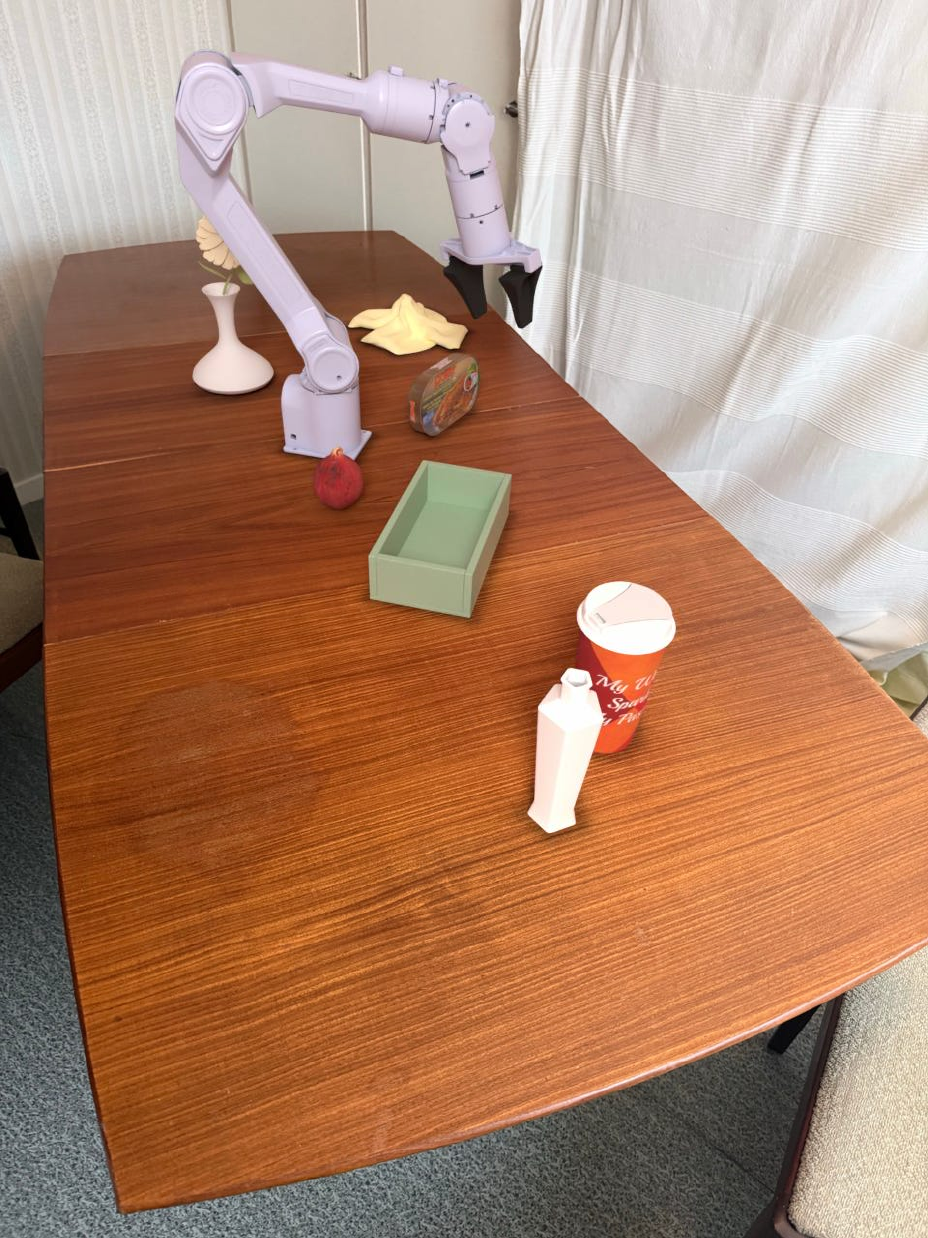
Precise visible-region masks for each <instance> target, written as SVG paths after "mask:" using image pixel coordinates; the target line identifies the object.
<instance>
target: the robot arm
mask: <svg viewBox="0 0 928 1238" xmlns="http://www.w3.org/2000/svg"><path fill="white" fill-rule="evenodd" d="M228 54H229V56H227V54H224V53H223V52H221V51H219V50H216V49H214V48H213V49H212V48H201V49H198V50H195V51H193V52H192V53H190V54H189V55H188V56H187V57H186V58H185V60H184V61H183V63H182V65H181V67H180V71H179V75H178V78H177V79H178V80H177V84H176V89H175V93H174V111H173V112H174V113H173V118H174V127H175V136H176V137H175V138H176V147H177V149H176V150H177V160H178V171H179V178H180V182H181V183H182V186H183V187H184V189H185V190H186V191H187V193H188V194H189V196H190V197H191V198H192V200H193V202H194V203H195V204H196V206H197V207H198V208H199V210H200V211H201V212H202V215H203V214H204V215H205V216H206V218H207V219H208V221H209V222H210V223H211V225H212V226H213V227H214V229H215V230H216V232H217V233H218V234H219V236H220V237H221V239H222V240H223V241H224V243H225V244H226V246H227V247H228V248H229V250H230V251H231V252H232V254H233V255H234V257H235V258H236V259H237V261H238V262H239V264H240V265H239V266H242V268H243V269H244V270H245V272H246V273H247V275H248V276H249V277H250V279H251V280H252V282H253V283H254V284H253V285H254V286H255V287H256V289H257V290H258V291H259V293H260V294H261V295H262V297H263V298H264V300H265V301H266V303H267V304H268V306H269V307H270V308H271V310H272V311H273V312H274V314H275V315H276V316H277V318H278V320H279V321H280V322H281V323H282V325H283V326H284V328H285V330H286V332H287V333H288V336H289V338H290V339H291V342H292V344H293V345H294V347H295V349H296V351H297V352H298V353H299V355H300V356H301V358H302V360H303V362H304V367H303V368H302V371H301V372H300V373H292V374H289V375H288V376H287V377H286V379H285V381H284V383H283V386H282V391H281V398H280V405H281V416H282V424H283V433H284V442H285V445H284V446H283V447H282V448H283V451H284V452H285V453H290V454H296V455H301V456H302V455H303V456H308V457H313V458H314V457H315V458H320V459H321V458H322V459H323V458H325V457H326V456H328V455H330V454H331V452H332V450H333V448H335V447H337V446H339V447H341V448H342V449H343V454H344V455H347V456H349V457H350V458H352V459H353V460H354V461H356V459H357V457H358V456H359V454H360V453H361V452H362V450H363V448H364V447H365V446H366V444H367V443H368V442H369V440H370V438H371V437H372V435H373V433H372V431H371V430H365V429H362V423H361V422H362V421H361V401H360V400H361V399H360V398H361V397H360V376H359V372H360V361H359V358H358V355H357V354H356V353H355V351H354V349H353V346H352V344H351V341H350V335H349V332H348V329H347V327H346V325H345V323H343V322H342V320H341V319H339V318H338V317H336V316H334V315H332V314H330V313H329V312H328V311H327V310H326V309H325V308H324V306H323V305H322V303H321V302H320V300H319V299H317V298H316V297H315V296H314V295H313V294H312V292H311V291H310V289H309V287H308V286H307V285H306V283H305V281H304V280H303V279H302V277H301V276H300V274H299V273H298V272H297V270H296V269H295V267H294V265H293V264H292V262H291V261H290V259H289V257H287V255H286V253H285V252H284V251H283V249H282V248H281V246H280V245H279V243H278V241H277V240H276V238H275V237H274V236H273V234H272V233H271V231H270V230H269V229H268V227H267V225H266V224H265V222H264V221H263V219H262V218H261V216H260V215H259V214H258V212H257V210H256V208H255V207H254V206H253V204H252V203H251V202H250V200H249V199H248V197H247V196H246V194H245V193H244V192H243V190H242V188H241V187H240V185H239V184H238V183H237V181H236V179H235V178H234V176H233V175H232V174H231V172H230V170H231V166H232V159H233V153H234V146H235V144H236V142H237V140H238V139H239V136H240V135H241V133H242V131H243V129H244V127H245V126H246V124H247V121H248V118H249V114H250V108H251V107H253V110H254V113H255V115H256V118H257V119H261V118H263V117H265V116H266V115H268V114H270V113H272V112H273V111H275V110H276V109H278V108H279V107H281V106H291V107H297V108H302V109H303V108H304V109H310V110H316V111H322V112H329V113H336V114H341V115H347V116H354V117H359V118H360V119H361V121H362V122H363V124H364V125H365V127H366V129H367V130H368V131H369V133H371V134H373V135H379V136H384V137H388V138H393V139H399V140H403V141H408V142H413V143H418V144H423V145H431V144H432V145H433V144H435V143H440V144H441V145H440V147H439V148H440V151H441V156H442V159H443V163H444V176H445V179H446V183H447V188H448V193H449V197H450V201H451V205H452V210H453V215H454V219H455V222H456V226H457V231H458V236H459V237H448V238H446V239H445V240H443V241H442V242H441V243H439V244H438V246H439V251H440V255H441V260H443V261H449V262H448V265H446V266H445V267H443V269H442V273H443V276H444V277H445V278H446V279H447V280H448V281H449V282H450V283H451V284H452V285H453V288H455V290H457V292H458V294H459V295H460V296H461V298H462V301H463V302H464V304H465V306H466V307H467V310H468V311H469V313H470V315H471V317H472V319H473V320H479V319H480V318H481V317H483V316H485V314H487V313H488V301H487V296H486V295H487V294H486V289H485V283H484V282H485V281H484V265H495V266H503V267H509V270H508V271H507V272H505V273H503V274H502V275H501V276H500V277H498V279H497V280H498V283H499V284H500V285H501V287H502V289H503V290H504V292H505V294H506V296H507V298H508V301H509V303H510V306H511V310H512V314H513V318H514V322H515V324H516V327H517V328H518V329H520V330H523V329H525V328H526V327H528V326H529V325H530V324H531V323H533V319H534V304H535V295H536V290H537V286H538V283H539V280H540V276H541V273H542V271H543V268H544V265H543V262H542V256H541V253H540V252H541V251H540V248H536V247H532V246H529V245H527V244H525V243H523V242H521V241H518V240H517V239H515V233H514V232H513V231H510V230H509V224H508V219H507V213H506V208H505V203H504V197H503V191H502V186H501V181H500V177H499V170H498V166H497V161H496V158H495V155H494V150H493V144H492V139H493V136H494V134H495V129H496V117H495V115H493V114H492V112H491V109H490V106H489V105H488V103H487V102H486V100H484V98H482V96H480V95H479V94H478V93H476V92H475V91H473V90H472V89H471V88H469V87H467V86H465V85H463V84H459V83H458V82H457V81H455V80H451V81H449V80H448V79H447V78H445V77H442V76H436V80H435V81H434V80H431V79H426V78H420V77H416V76H412V75H407V74H404V70H405V69H404V68H403V67H402V66H400V65H396V64H391V63H390V64H388V69H387V70H386V69H381V68H377V69H375V70H374V71H373V72H371V73H370V74H369V75H368V76H366V77H365V78H364V79H359V78H358V79H357V78H354V77H350V76H347V75H341V74H339V73H334V72H330V71H327V70H322V69H320V68H319V69H318V68H315V67H311V66H307V65H304V64H300V63H297V62H292V61H288V60H285V59H280V58H276V57H273V56H268V55H262V54H255V53H248V52H240V51H228ZM204 215H203V216H204Z"/></svg>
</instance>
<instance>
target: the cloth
mask: <svg viewBox="0 0 928 1238" xmlns="http://www.w3.org/2000/svg"><path fill="white" fill-rule="evenodd" d="M347 328H351V329H353V328H364V329H369V330H372V331H370V332H369V333H368V334H366V335H364V336H363V337H362V338H361V340H360V342H363V343H366V344H368V345H372V346H375V347H377V348H380V349H383V350H386V351H388V352H390V353H393V354H394V355H397V356H403V355H408V354H414V353H419V352H424V351H426V350H430V349H431V348H434V347H435V346H436V345H437V346H441V347H443V348H446V349H448V350H454V349H457V350H459V349H460V347H461V345H462V343H463V341H464V339H465V337H466V335H467V333H468V332H469V330H468V328H467V327H466V326H465V325H463V324H457V323H452V322H449V321H447V318H446V317H445V316H443V315H442V314H440V313H439V312H436V311H435V310H432V309H429V308H427V307H425V306H424V304H423V303H421V302H418V301H417V302H416V301H415V300H414V299H413V296H411V295H409V294H407V293H402V294H401V296H400V297H399V298H398V299H397V300H395V301H394V303H393V304H392V306H391V308H371V309H366V310H364V311H361V312H360V313H358V314H356V315H355V316H354V317H352V318H351V320H350V322H349V324H348V325H347Z"/></svg>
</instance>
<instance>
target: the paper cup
mask: <svg viewBox="0 0 928 1238" xmlns="http://www.w3.org/2000/svg"><path fill="white" fill-rule="evenodd" d="M576 621H577V625H578V627H579V629H578V636H577V647H576V657H575V666H574V669H578V670H584V671H587V672H589V674H590V677H591V681H592V686H591V687H590V688H589V690H593V691H595V692H596V694H597V698H598V701H599V705H600V708H601V712H602V715H603V723H602V726H601V729H600V732H599V735H598V738H597V741H596V744H595V747H594V750H593V752H595V753H597V754H598V753H599V754H613V753H615V754H616V753H618V752H620V751H623V750H624V749H626V748H627V747H628V746H629V745H630V743H631V742H632V741H633V738H634V736H635V733H636V731H637V728H638V726H639V723H640V720H641V717H642V714H643V712H644V709H645V707H646V703H647V701H648V698H649V695H650V693H651V690H652V687H653V684H654V681H655V679H656V676H657V673H658V670H659V667H660V665H661V662H662V659H663V656H664V653H665V651H666V649H667V646H668V645H669V644H670V643H672V641H673V639H674V637H675V634H676V628H677V627H676V621H675V619H674V616H673V611H672V607H671V606H670V605H669V603H668V601H667V600H666V599H665V598H664V597H663V596H662V595H660V594H659V593H658V592H657V591H655V590H654V589H652V588H649V587H648V586H645V585H641V584H638V583H635V582H630V581H611V582H606V583H602V584H600V585H598V586H596V587H594V588H593V589H592V590H591V591H589V593H587V595H586V597H585V598H584V600H582V602H581V603H580V604H579V606H578V608H577V611H576Z"/></svg>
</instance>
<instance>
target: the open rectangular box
mask: <svg viewBox="0 0 928 1238" xmlns="http://www.w3.org/2000/svg"><path fill="white" fill-rule="evenodd" d="M512 478H513V474H510V473H505V472H499V471H494V470H487V469H481V468H480V469H479V468H476V467H469V466H464V465H463V466H462V465H457V464H450V463H444V462H438V461H432V460H426V459H423V460H422V461H421V463H420V464H419V466H418V468H417V470H416V471H415V473H414V475H413V476H412V478H411V480H410V482H409V484H408V485H407V487H406V489H405V491H404V493H403V495H402V496H401V498H400V500H399V501H398V503H397V505H396V506H395V508H394V511H393V512H392V514H391V515H390V518H389V519H388V521H387V523H386V524H385V526H384V528H383V530H382V531H381V533H380V535H379V537H378V538H377V540H376V542H375V543H374V545H373V547H372V549H371V550H370V552H369V554H368V557H367V559H368V578H369V579H368V583H369V599H370V600H375V601H378V602H384V603H390V604H395V605H399V606H405V607H410V608H415V609H420V610H425V611H432V612H435V613H442V614H447V615H450V616H457V617H461V618H466V619H467V618H468V619H470V618H471V616H472V613H473V611H474V607H475V605H476V603H477V600H478V598H479V594H480V592H481V589H482V586H483V584H484V581H485V578H486V576H487V574H488V570H489V568H490V565H491V562H492V560H493V557H494V554H495V552H496V550H497V546H498V543H499V541H500V538H501V536H502V532H503V530H504V528H505V525H506V522H507V520H508V517H509V515H510V514H509V513H510V512H509V511H510V501H511V491H512V480H513V479H512Z"/></svg>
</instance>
